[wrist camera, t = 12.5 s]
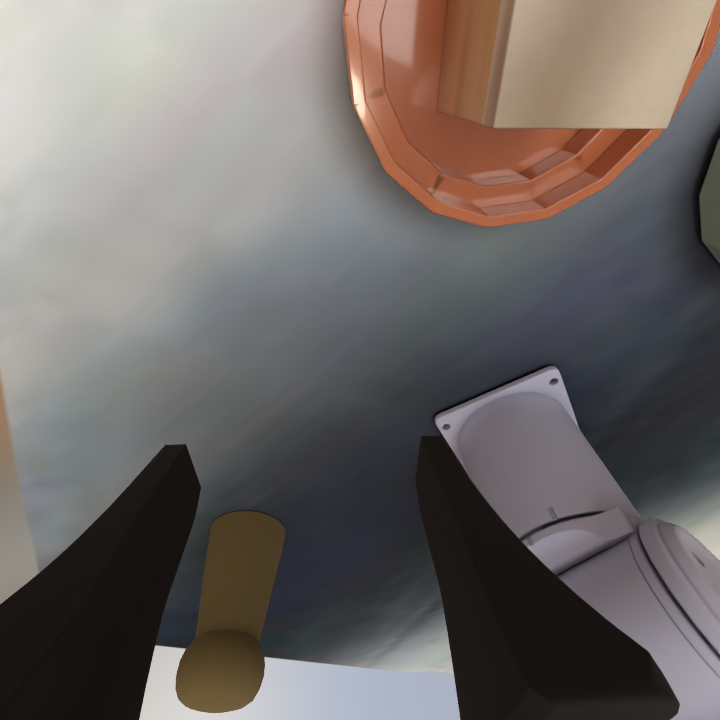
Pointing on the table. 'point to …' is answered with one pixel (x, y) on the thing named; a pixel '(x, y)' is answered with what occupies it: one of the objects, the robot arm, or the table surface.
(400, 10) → the terracotta bowl
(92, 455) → the table surface
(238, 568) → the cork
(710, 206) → the celadon bowl
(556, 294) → the table surface
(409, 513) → the table surface
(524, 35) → the box
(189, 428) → the table surface
